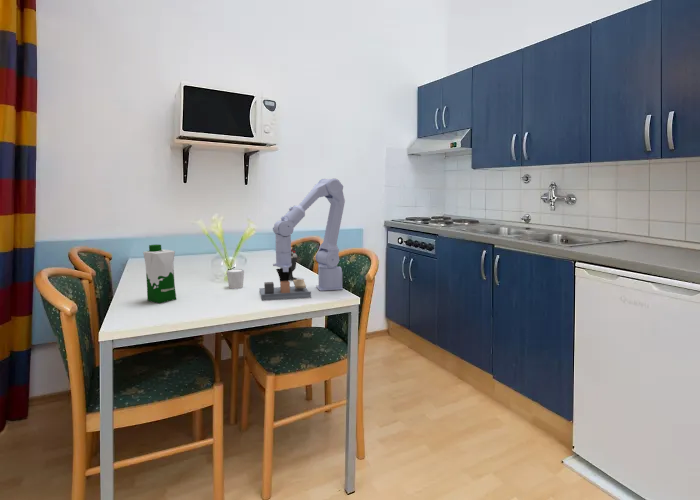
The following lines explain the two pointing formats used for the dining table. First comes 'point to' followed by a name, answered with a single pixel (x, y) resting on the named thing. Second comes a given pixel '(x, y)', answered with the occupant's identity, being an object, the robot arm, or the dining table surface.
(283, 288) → the terracotta knob
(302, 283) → the block
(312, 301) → the dining table surface
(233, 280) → the grey tapered cup
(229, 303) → the dining table surface
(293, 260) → the sundae
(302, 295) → the panel
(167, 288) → the milk carton
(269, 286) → the black knob
